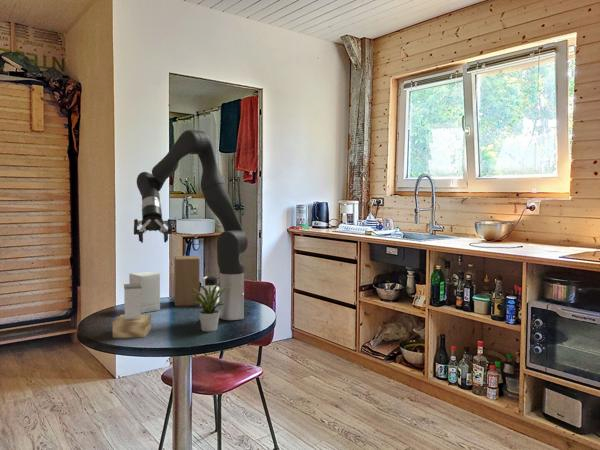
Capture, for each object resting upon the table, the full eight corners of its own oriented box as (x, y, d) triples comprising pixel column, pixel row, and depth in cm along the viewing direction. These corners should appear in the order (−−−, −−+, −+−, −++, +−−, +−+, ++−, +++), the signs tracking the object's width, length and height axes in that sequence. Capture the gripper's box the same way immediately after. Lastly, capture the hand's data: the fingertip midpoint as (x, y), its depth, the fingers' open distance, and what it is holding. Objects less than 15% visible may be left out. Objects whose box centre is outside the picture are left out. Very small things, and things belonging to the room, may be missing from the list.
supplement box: (160, 310, 188) (160, 273, 188) (139, 314, 182) (139, 275, 181) (149, 306, 195) (149, 270, 194) (128, 310, 188) (128, 273, 187)
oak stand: (151, 328, 161) (151, 314, 161) (144, 337, 151) (144, 321, 151) (121, 329, 160) (120, 314, 160) (112, 337, 150) (112, 322, 150)
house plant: (228, 322, 172) (228, 277, 171) (237, 332, 159) (237, 284, 158) (188, 325, 167) (189, 279, 166) (194, 335, 154) (195, 286, 153)
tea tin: (140, 315, 159) (140, 283, 158) (141, 319, 154) (141, 286, 154) (124, 316, 157) (124, 284, 157) (124, 320, 152) (124, 286, 152)
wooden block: (174, 301, 205) (174, 256, 204) (197, 300, 208) (197, 255, 207) (175, 306, 196) (175, 258, 195) (199, 305, 199) (199, 258, 198)
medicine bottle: (219, 302, 204) (219, 275, 203) (216, 306, 197) (217, 278, 196) (202, 302, 203) (202, 275, 203) (199, 306, 196) (199, 278, 196)
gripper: (133, 203, 183) (134, 235, 173) (170, 204, 188) (173, 234, 178) (132, 216, 188) (133, 247, 178) (169, 216, 193) (172, 247, 183)
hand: (153, 241), depth 178 cm, fingers open, 8 cm apart
